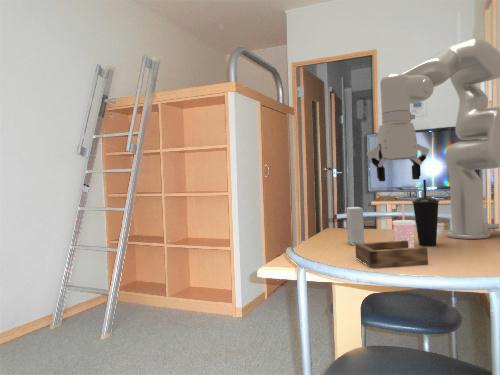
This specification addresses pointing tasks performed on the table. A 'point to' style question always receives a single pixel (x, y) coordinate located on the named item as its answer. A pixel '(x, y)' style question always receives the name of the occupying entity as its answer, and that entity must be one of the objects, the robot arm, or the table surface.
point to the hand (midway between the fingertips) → (399, 180)
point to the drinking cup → (426, 219)
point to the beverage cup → (404, 230)
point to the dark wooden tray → (391, 254)
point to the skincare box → (355, 225)
